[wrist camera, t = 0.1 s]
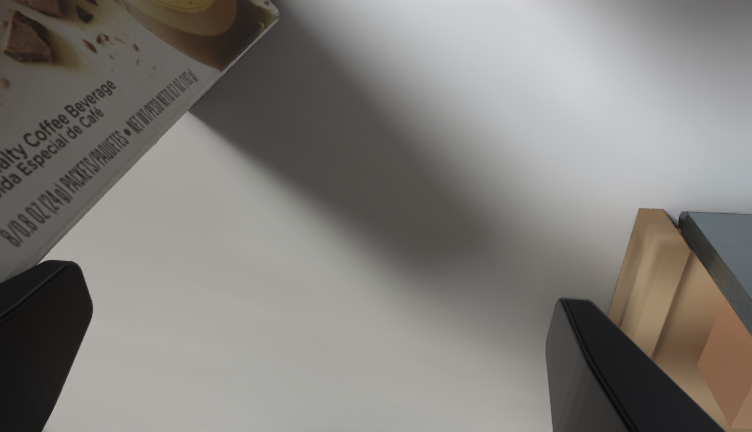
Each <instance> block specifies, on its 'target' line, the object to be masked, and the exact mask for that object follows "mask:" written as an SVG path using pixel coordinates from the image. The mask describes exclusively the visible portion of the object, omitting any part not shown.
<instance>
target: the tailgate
mask: <svg viewBox="0 0 752 432" xmlns="http://www.w3.org/2000/svg"><path fill="white" fill-rule="evenodd" d="M679 228H680V229H681V234H682V235H683V237H684V238H685V240H686V241H687V243H688V244H689V246H690V247H691V249H692V250H693V252H694V253H695V254H696V256H697V257H698V259H699V260H700V262H701V263H702V265H703V266H704V268H705V269H706V271H707V272H708V273H709V275H710V276H711V278H712V279H713V281H714V282H715V284H716V285H717V287H718V288H719V290H720V291H721V292H722V294H723V295H724V297H725V298H726V300H727V301H728V303H729V304H730V306H731V307H732V309H733V310H734V311H735V313H736V314H737V316H738V317H739V319H740V320H741V322H742V323H743V325H744V326H745V328H746V329H747V330H748V332H749V333H750V335H751V336H752V214H731V213H706V212H682V213H681V214H680V216H679Z"/></svg>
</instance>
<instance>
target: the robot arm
mask: <svg viewBox="0 0 752 432" xmlns="http://www.w3.org/2000/svg"><path fill="white" fill-rule="evenodd" d="M92 314H93V304H92V300H91V297H90V294H89V291H88V288H87V285H86V282H85V279H84V276H83V273H82V270H81V268H80V266H79V265H78V264H77V263H75V262H72V261H60V260H47V261H44V262H42V263H40V264H38V265H36V266H34V267H32V268H30V269H28V270H26V271H24V272H22V273H20V274H18V275H16V276H14V277H12V278H10V279H8V280H6V281H4V282H2V283H0V432H42V430H43V428H44V426H45V424H46V422H47V420H48V419H49V417H50V415H51V413H52V411H53V409H54V406H55V404H56V402H57V400H58V398H59V396H60V393H61V391H62V388H63V386H64V384H65V381H66V379H67V376H68V374H69V372H70V369H71V367H72V364H73V362H74V360H75V357H76V355H77V352H78V350H79V348H80V345H81V343H82V341H83V338H84V336H85V333H86V331H87V329H88V326H89V324H90V321H91V318H92ZM546 362H547V372H548V383H549V393H550V404H551V414H552V425H553V432H726V431H725V430H724V429H723V428H722V427H721V426H720V425H719V424H718V423H717V422H716V421H715V420H714V419H712V418H711V417H710V416H709V415H708V414H707V413H706V412H705V411H704V410H703V409H702V408H701V407H700V406H699V405H698V404H697V403H696V402H695V401H694V400H693V399H692V398H691V397H690V396H689V395H688V394H687V393H686V392H685V391H684V390H683V389H682V388H681V387H680V386H679V385H677V384H676V383H675V382H674V381H673V380H672V379H671V378H670V377H669V376H668V375H667V374H666V373H665V372H664V371H663V370H662V369H661V368H660V367H659V366H658V365H657V364H656V363H655V362H654V361H653V360H652V359H651V358H650V357H649V356H648V355H647V354H646V353H645V352H644V351H642V350H641V349H640V348H639V347H638V346H637V345H636V344H635V343H634V342H633V341H632V340H631V339H630V338H629V337H628V336H627V335H626V334H625V333H624V332H623V331H622V330H621V329H620V328H619V327H618V326H617V325H616V324H615V323H614V322H613V321H612V320H611V319H610V318H609V317H607V316H606V315H605V314H604V313H603V312H602V311H601V310H600V309H599V308H598V307H597V306H596V305H595V304H594V303H593V302H592V301H590V300H589V299H585V298H573V297H562V298H560V299H558V301H557V303H556V305H555V309H554V312H553V316H552V320H551V324H550V328H549V332H548V335H547V340H546Z"/></svg>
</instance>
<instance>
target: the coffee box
mask: <svg viewBox="0 0 752 432" xmlns="http://www.w3.org/2000/svg"><path fill="white" fill-rule="evenodd" d="M279 17H280V14H279V11H278V9H277V8H276V7H275V5H274V4H273V3H272V2H271V1H270V0H0V283H2V282H4V281H6V280H8V279H10V278H12V277H14V276H16V275H18V274H20V273H22V272H24V271H26V270H28V269H30V268H32V267H34V266H36V265H37V264H38V263H39V262H40V261H41V260H42V259H43V258H44V257H45V256H46V255H47V253H48V252H49V251H50V250H51V249H52V248H53V247H54V246H55V245H56V244H57V243H58V242H59V241H60V240H61V239H62V238H63V237H64V236H65V235H66V234H67V233H68V232H69V231H70V230H71V229H72V228H73V227H74V226H75V225H76V224H77V223H78V222H79V221H80V220H81V219H82V218H83V216H84V215H85V214H86V213H87V212H88V211H89V210H90V209H91V208H92V207H93V206H94V205H95V204H96V203H97V202H98V201H99V200H100V199H101V198H102V197H103V196H104V195H105V194H106V193H107V192H108V191H109V190H110V189H111V188H112V187H113V186H114V185H115V184H116V183H117V182H118V181H119V180H120V179H121V178H122V177H123V176H124V175H125V174H126V173H127V172H128V171H129V170H130V169H131V168H132V167H133V166H134V165H135V164H136V163H137V161H138V160H139V159H140V158H141V157H142V156H143V155H144V154H145V153H146V152H147V151H148V150H149V149H150V148H151V147H153V146H154V145H155V144H156V143H157V141H158V140H159V139H160V138H161V137H162V136H163V135H164V134H165V133H166V132H167V131H168V130H169V129H170V128H171V127H172V126H173V125H174V124H175V123H176V122H177V121H178V120H179V119H180V118H181V117H182V116H183V115H184V114H185V113H186V112H187V111H188V110H189V109H190V108H191V107H192V106H193V105H194V104H195V103H196V102H197V101H198V100H199V99H200V98H201V97H202V96H203V95H204V94H205V93H206V92H207V91H208V90H209V89H210V88H211V87H212V86H213V85H214V84H215V83H216V81H217V80H218V79H219V78H220V77H221V76H222V75H224V74H225V73H226V71H227V70H228V69H229V68H230V67H231V66H232V65H233V64H235V63H236V62H237V60H238V59H239V58H240V57H241V56H242V55H243V54H244V53H246V52H247V51H248V50H249V49H250V48H251V47H252V46H253V45H254V44H255V43H256V42H257V41H258V40H259V39H260V38H261V37H262V36H263V35H264V34H265V33H266V32H267V31H268V30H269V29H270V28H271V27H273V26H274V25H275V24H276V23H277V22H278V20H279Z"/></svg>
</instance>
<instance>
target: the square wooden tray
mask: <svg viewBox="0 0 752 432" xmlns="http://www.w3.org/2000/svg"><path fill="white" fill-rule="evenodd" d="M724 301H725V297H724V295H723V294H722V292H721V291H720V290H719V288H718V287H717V285H716V284H715V282H714V281H713V279H712V278H711V276H710V275H709V273H708V272H707V271H706V269H705V268H704V266H703V265H702V263H701V262H700V260H699V259H698V257H697V256H696V254H695V253H694V252H693V250H692V249H691V247H690V246H689V244H688V243H687V241H686V240H685V238H684V237H683V235H682V234H681V229H680V228H675V226H674V225H673V223H672V222H671V220H670V219H669V217H668V216H667V214H666V213H665V211H664V210H663V209H641V208H639V211H638V214H637V218H636V221H635V224H634V228H633V231H632V235H631V238H630V241H629V245H628V248H627V252H626V255H625V258H624V262H623V265H622V269H621V272H620V275H619V279H618V282H617V285H616V289H615V292H614V296H613V299H612V302H611V306H610V309H609V313H608V316H607V317H609V318H610V319H611V320H612V321H613V322H614V323H615V324H616V325H617V326H618V327H619V328H620V329H621V330H622V331H623V332H624V333H625V334H626V335H627V336H628V337H629V338H630V339H631V340H632V341H633V342H634V343H635V344H636V345H637V346H638V347H639V348H640V349H641V350H642V351H644V352H645V353H646V354H647V355H648V356H649V357H650V358H651V359H652V360H653V361H654V362H655V363H656V364H657V365H658V366H659V367H660V368H661V369H662V370H663V371H664V372H665V373H666V374H667V375H668V376H669V377H670V378H671V379H672V380H673V381H674V382H675V383H676V384H677V385H679V386H680V387H681V388H682V389H683V390H684V391H685V392H686V393H687V394H688V395H689V396H690V397H691V398H692V399H693V400H694V401H695V402H696V403H697V404H698V405H699V406H700V407H701V408H702V409H703V410H704V411H705V412H706V413H707V414H708V415H709V416H710V417H711V418H712V419H714V420H715V421H716V422H717V423H718V424H719V425H720V426H721V427H722V428H723V429H724V430H725V431H726V432H752V429H742V428H730V426H729V424H728V423H727V421H726V419H725V417H724V415H723V413H722V411H721V410H720V408H719V406H718V404H717V402H716V400H715V398H714V397H713V395H712V393H711V391H710V389H709V387H708V385H707V384H706V382H705V380H704V378H703V376H702V374H701V372H700V371H699V369H698V367H697V364H698V361H699V359H700V357H701V354H702V352H703V350H704V347H705V345H706V343H707V340H708V338H709V336H710V333H711V331H712V329H713V326H714V324H715V322H716V319H717V317H718V315H719V312H720V310H721V308H722V305H723V303H724Z"/></svg>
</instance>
